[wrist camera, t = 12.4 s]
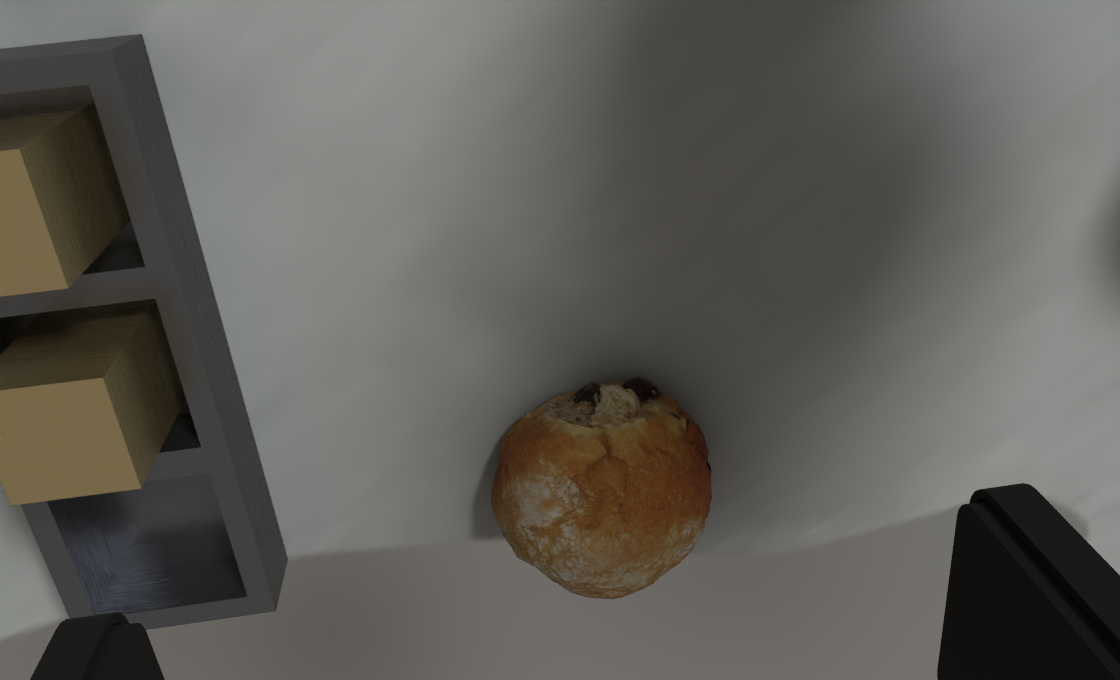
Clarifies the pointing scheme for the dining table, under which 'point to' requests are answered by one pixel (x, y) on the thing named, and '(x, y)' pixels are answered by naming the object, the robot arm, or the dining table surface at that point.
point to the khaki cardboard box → (55, 196)
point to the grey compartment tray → (202, 362)
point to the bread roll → (603, 487)
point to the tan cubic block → (86, 402)
